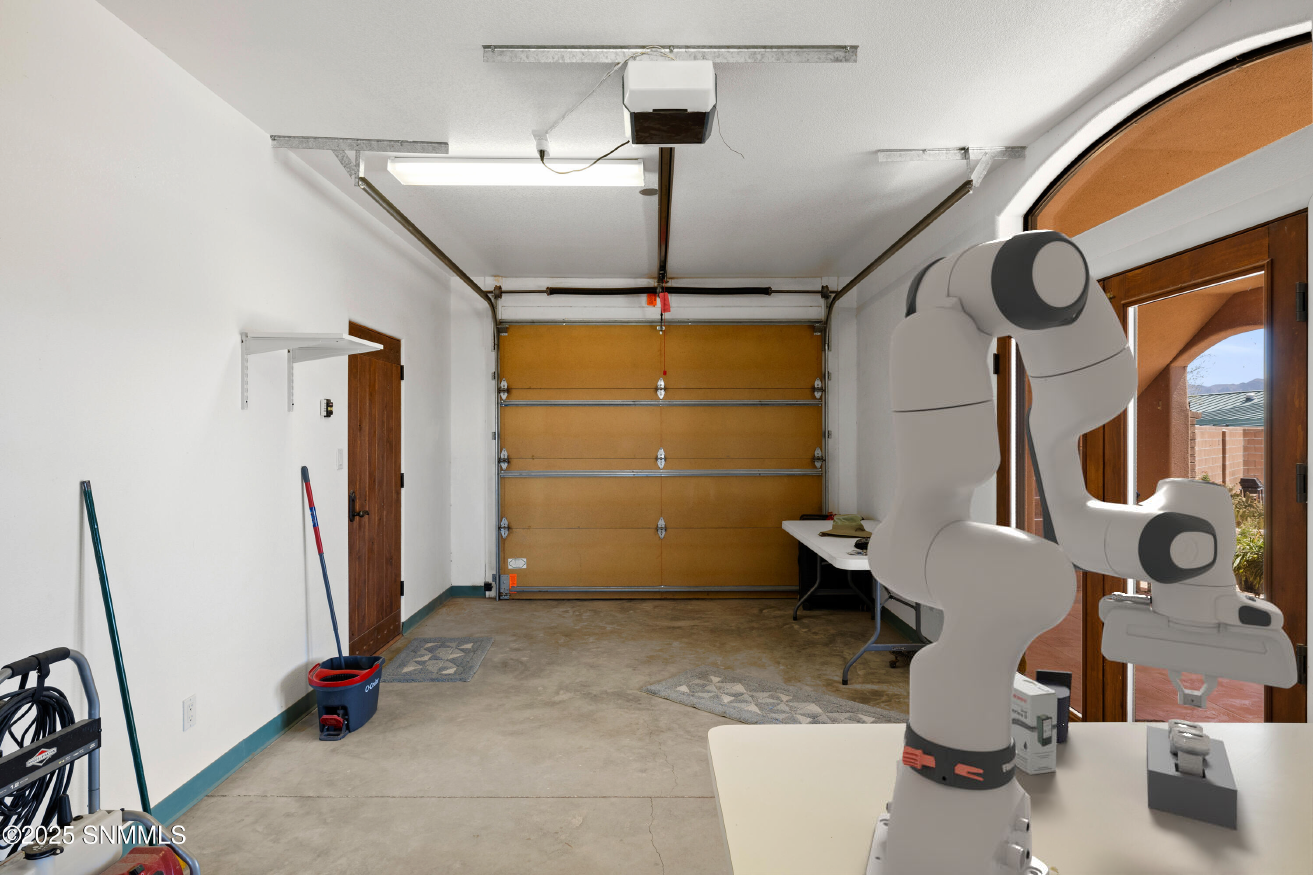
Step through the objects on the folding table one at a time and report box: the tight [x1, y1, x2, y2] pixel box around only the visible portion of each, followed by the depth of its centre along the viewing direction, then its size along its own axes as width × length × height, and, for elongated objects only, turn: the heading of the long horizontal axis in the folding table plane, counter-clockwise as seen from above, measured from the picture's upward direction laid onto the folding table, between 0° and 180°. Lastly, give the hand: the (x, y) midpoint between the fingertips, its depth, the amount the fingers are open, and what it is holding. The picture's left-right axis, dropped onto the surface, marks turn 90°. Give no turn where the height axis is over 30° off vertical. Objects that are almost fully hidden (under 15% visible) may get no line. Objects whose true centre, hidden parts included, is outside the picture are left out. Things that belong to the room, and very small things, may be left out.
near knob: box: [1171, 728, 1211, 778], centre depth 90 cm, size 4×4×5 cm
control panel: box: [1146, 725, 1238, 831], centre depth 95 cm, size 17×9×5 cm, turn 145°
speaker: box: [1034, 669, 1073, 745], centre depth 112 cm, size 8×6×10 cm
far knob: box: [1167, 718, 1204, 756], centre depth 99 cm, size 4×4×5 cm
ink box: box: [1012, 672, 1057, 775], centre depth 104 cm, size 9×5×12 cm, turn 14°
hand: (1192, 705), depth 91 cm, fingers closed
